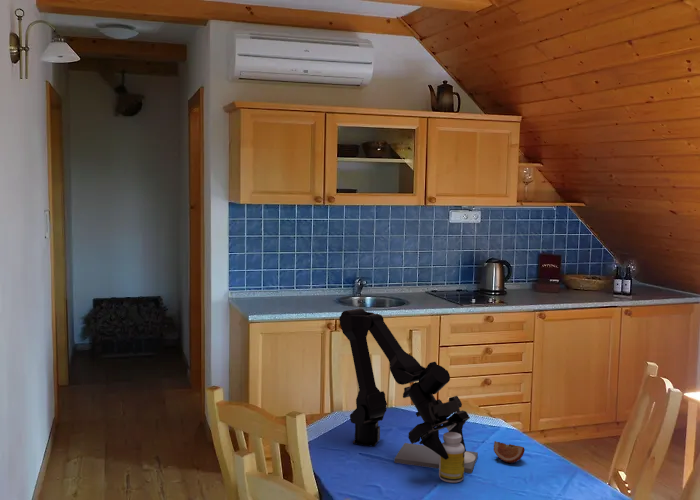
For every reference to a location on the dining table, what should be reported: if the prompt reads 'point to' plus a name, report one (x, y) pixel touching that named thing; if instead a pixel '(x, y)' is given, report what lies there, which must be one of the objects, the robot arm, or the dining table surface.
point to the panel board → (429, 457)
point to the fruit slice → (508, 452)
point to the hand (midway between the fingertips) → (456, 455)
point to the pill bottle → (452, 458)
